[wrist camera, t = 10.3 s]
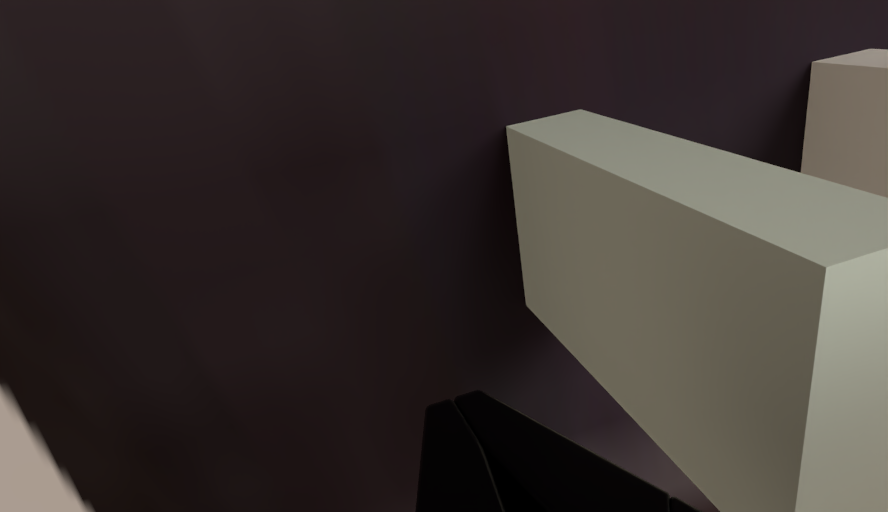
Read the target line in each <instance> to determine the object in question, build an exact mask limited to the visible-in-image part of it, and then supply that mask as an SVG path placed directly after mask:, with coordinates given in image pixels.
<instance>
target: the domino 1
mask: <svg viewBox="0 0 888 512" xmlns="http://www.w3.org/2000/svg"><path fill="white" fill-rule="evenodd" d="M506 131H507V140H508V149H509V158H510V167H511V176H512V185H513V194H514V203H515V212H516V221H517V230H518V239H519V248H520V257H521V266H522V275H523V284H524V292H525V301H526V306H527V307H528V308H529V309H530V310H531V311H532V312H533V313H534V314H535V315H536V316H537V317H538V318H539V319H540V321H541V322H542V323H543V324H544V325H545V326H546V327H547V328H548V329H549V330H550V331H551V332H552V333H553V334H554V335H555V336H556V338H557V339H558V340H559V341H560V342H561V343H562V344H563V345H564V346H565V347H566V348H567V349H568V350H569V351H570V352H571V353H572V354H573V356H574V357H575V358H576V359H577V360H578V361H579V362H580V363H581V364H582V365H583V366H584V367H585V368H586V369H587V370H588V371H589V373H590V374H591V375H592V376H593V377H594V378H595V379H596V380H597V381H598V382H599V383H600V384H601V385H602V386H603V387H604V388H605V390H606V391H607V392H608V393H609V394H610V395H611V396H612V397H613V398H614V399H615V400H616V401H617V402H618V403H619V404H620V405H621V407H622V408H623V409H624V410H625V411H626V412H627V413H628V414H629V415H630V416H631V417H632V418H633V419H634V420H635V421H636V422H637V423H638V425H639V426H640V427H641V428H642V429H643V430H644V431H645V432H646V433H647V434H648V435H649V436H650V437H651V438H652V439H653V440H654V442H655V443H656V444H657V445H658V446H659V447H660V448H661V449H662V450H663V451H664V452H665V453H666V454H667V455H668V456H669V457H670V459H671V460H672V461H673V462H674V463H675V464H676V465H677V466H678V467H679V468H680V469H681V470H682V471H683V472H684V473H685V474H686V476H687V477H688V478H689V479H690V480H691V481H692V482H693V483H694V484H695V485H696V486H697V487H698V488H699V489H700V490H701V491H702V492H703V494H704V495H705V496H706V497H707V498H708V499H709V500H710V501H711V502H712V503H713V504H714V505H715V506H716V507H717V508H718V509H719V511H720V512H888V198H886V197H882V196H879V195H876V194H872V193H869V192H865V191H862V190H858V189H855V188H851V187H848V186H844V185H841V184H837V183H834V182H830V181H827V180H824V179H820V178H817V177H813V176H810V175H806V174H803V173H799V172H796V171H792V170H789V169H785V168H782V167H779V166H775V165H772V164H768V163H765V162H761V161H758V160H754V159H751V158H747V157H744V156H740V155H737V154H733V153H730V152H727V151H723V150H720V149H716V148H713V147H709V146H706V145H702V144H699V143H695V142H692V141H688V140H685V139H681V138H678V137H675V136H671V135H668V134H664V133H661V132H657V131H654V130H650V129H647V128H643V127H640V126H636V125H633V124H629V123H626V122H623V121H619V120H616V119H612V118H609V117H605V116H602V115H598V114H595V113H591V112H588V111H584V110H581V109H580V110H575V111H571V112H567V113H562V114H558V115H554V116H549V117H545V118H540V119H536V120H532V121H527V122H523V123H519V124H514V125H510V126H506Z"/></svg>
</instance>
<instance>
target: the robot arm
mask: <svg viewBox="0 0 888 512" xmlns="http://www.w3.org/2000/svg"><path fill="white" fill-rule="evenodd" d="M416 512H702V511H700V510H698V509H697V508H695V507H693V506H691V505H689V504H688V503H686V502H684V501H682V500H680V499H678V498H677V497H671V498H670V495H669V494H668V493H667V492H665V491H663V490H661V489H660V488H658V487H656V486H654V485H652V484H651V483H649V482H647V481H645V480H643V479H641V478H640V477H638V476H636V475H634V474H632V473H630V472H629V471H627V470H625V469H623V468H621V467H620V466H618V465H616V464H614V463H612V462H610V461H609V460H607V459H605V458H603V457H601V456H599V455H598V454H596V453H594V452H592V451H590V450H589V449H587V448H585V447H583V446H581V445H579V444H578V443H576V442H574V441H572V440H570V439H568V438H567V437H565V436H563V435H561V434H559V433H557V432H556V431H554V430H552V429H550V428H548V427H547V426H545V425H543V424H541V423H539V422H537V421H536V420H534V419H532V418H530V417H528V416H526V415H525V414H523V413H521V412H519V411H517V410H516V409H514V408H512V407H510V406H508V405H506V404H505V403H503V402H501V401H499V400H497V399H495V398H494V397H492V396H490V395H488V394H486V393H484V392H483V391H479V390H476V391H473V392H470V393H466V394H463V395H460V396H457V397H456V398H455V399H454V401H453V400H450V399H448V400H444V401H441V402H438V403H435V404H432V405H429V406H428V407H427V408H426V411H425V421H424V431H423V441H422V451H421V461H420V472H419V482H418V492H417V502H416Z"/></svg>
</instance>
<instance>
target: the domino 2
mask: <svg viewBox="0 0 888 512" xmlns="http://www.w3.org/2000/svg"><path fill="white" fill-rule="evenodd" d="M801 173H803V174H806V175H810V176H813V177H817V178H820V179H824V180H827V181H830V182H834V183H837V184H841V185H844V186H848V187H851V188H855V189H858V190H862V191H865V192H869V193H872V194H876V195H879V196H882V197H886V198H888V50H884V49H867V50H863V51H858V52H854V53H849V54H845V55H840V56H836V57H832V58H827V59H823V60H818V61H814V62H812V68H811V77H810V87H809V96H808V106H807V116H806V125H805V135H804V145H803V154H802V164H801Z"/></svg>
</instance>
